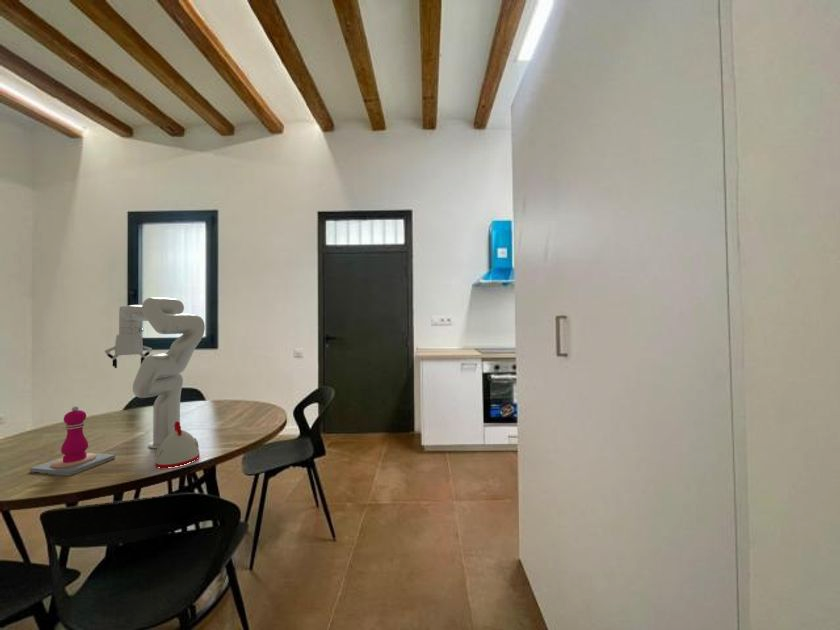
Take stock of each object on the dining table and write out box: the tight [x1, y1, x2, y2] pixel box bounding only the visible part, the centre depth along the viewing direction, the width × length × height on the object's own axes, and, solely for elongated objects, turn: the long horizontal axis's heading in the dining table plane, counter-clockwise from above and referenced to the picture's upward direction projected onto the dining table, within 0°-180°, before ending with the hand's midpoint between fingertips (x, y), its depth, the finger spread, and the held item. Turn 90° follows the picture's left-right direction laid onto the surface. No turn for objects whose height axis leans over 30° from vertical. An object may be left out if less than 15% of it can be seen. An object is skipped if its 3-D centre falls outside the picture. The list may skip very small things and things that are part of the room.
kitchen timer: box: [155, 421, 200, 468], centre depth 130 cm, size 14×14×15 cm
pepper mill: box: [60, 406, 89, 463], centre depth 127 cm, size 7×7×20 cm
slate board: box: [29, 451, 116, 477], centre depth 127 cm, size 18×15×2 cm
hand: (129, 366), depth 162 cm, fingers open, 9 cm apart
